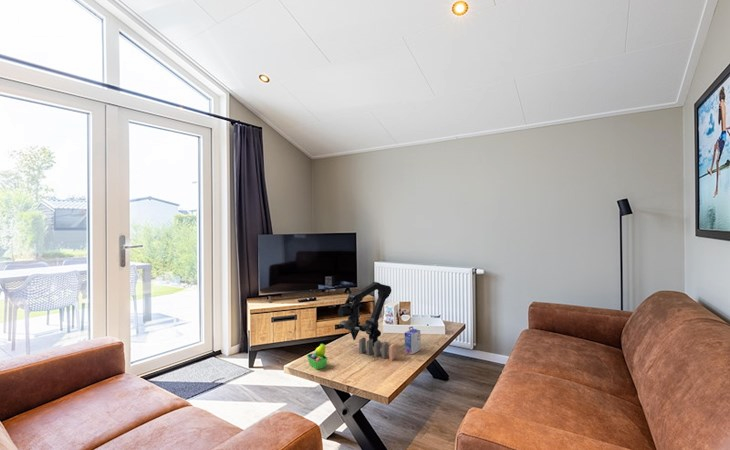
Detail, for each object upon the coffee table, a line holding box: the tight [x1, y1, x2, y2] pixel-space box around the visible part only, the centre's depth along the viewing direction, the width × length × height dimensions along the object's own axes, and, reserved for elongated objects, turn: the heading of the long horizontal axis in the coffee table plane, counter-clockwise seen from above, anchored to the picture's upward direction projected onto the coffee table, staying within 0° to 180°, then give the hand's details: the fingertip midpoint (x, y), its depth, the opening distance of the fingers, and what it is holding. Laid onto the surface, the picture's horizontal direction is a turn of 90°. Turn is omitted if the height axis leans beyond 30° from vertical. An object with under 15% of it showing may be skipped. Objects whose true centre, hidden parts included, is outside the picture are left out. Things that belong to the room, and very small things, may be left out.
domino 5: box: [388, 343, 396, 362], centre depth 194 cm, size 5×2×8 cm, turn 150°
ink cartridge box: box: [404, 326, 422, 355], centre depth 205 cm, size 10×6×14 cm, turn 137°
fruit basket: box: [306, 343, 328, 371], centre depth 186 cm, size 11×9×11 cm
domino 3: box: [373, 339, 381, 358], centre depth 199 cm, size 5×2×8 cm, turn 150°
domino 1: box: [358, 337, 367, 355], centre depth 204 cm, size 5×2×8 cm, turn 150°
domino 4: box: [381, 341, 389, 360], centre depth 197 cm, size 5×2×8 cm, turn 150°
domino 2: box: [366, 339, 374, 356], centre depth 202 cm, size 5×2×8 cm, turn 150°
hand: (354, 339), depth 207 cm, fingers closed
